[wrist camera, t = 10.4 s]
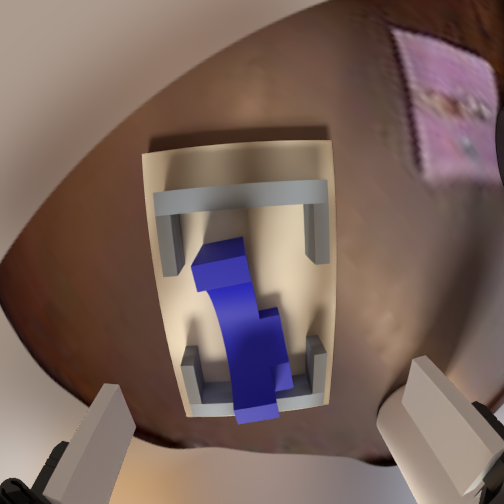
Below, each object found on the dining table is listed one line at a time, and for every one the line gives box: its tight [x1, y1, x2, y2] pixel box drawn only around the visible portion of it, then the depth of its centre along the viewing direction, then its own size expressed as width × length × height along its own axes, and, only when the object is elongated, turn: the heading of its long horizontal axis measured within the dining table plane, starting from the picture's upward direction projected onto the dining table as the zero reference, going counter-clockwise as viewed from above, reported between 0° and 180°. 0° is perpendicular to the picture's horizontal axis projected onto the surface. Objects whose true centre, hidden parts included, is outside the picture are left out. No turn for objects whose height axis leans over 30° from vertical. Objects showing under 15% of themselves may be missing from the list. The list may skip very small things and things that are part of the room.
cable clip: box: [191, 236, 294, 424], centre depth 20 cm, size 12×4×6 cm, turn 11°
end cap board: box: [142, 140, 336, 417], centre depth 22 cm, size 14×24×4 cm, turn 4°
